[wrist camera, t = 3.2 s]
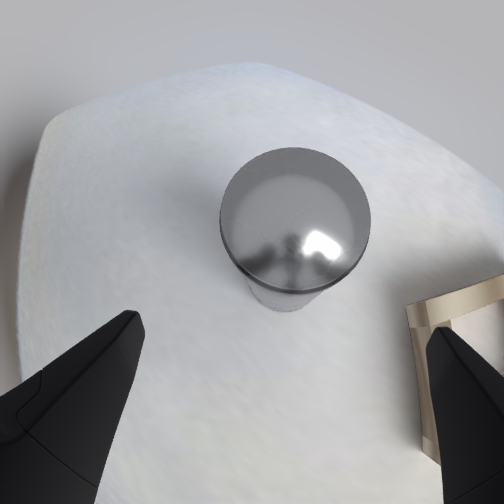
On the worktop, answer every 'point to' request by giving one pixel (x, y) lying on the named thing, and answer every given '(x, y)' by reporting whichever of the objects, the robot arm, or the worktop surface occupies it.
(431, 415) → the collar
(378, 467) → the worktop surface
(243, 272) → the silver metal canister
